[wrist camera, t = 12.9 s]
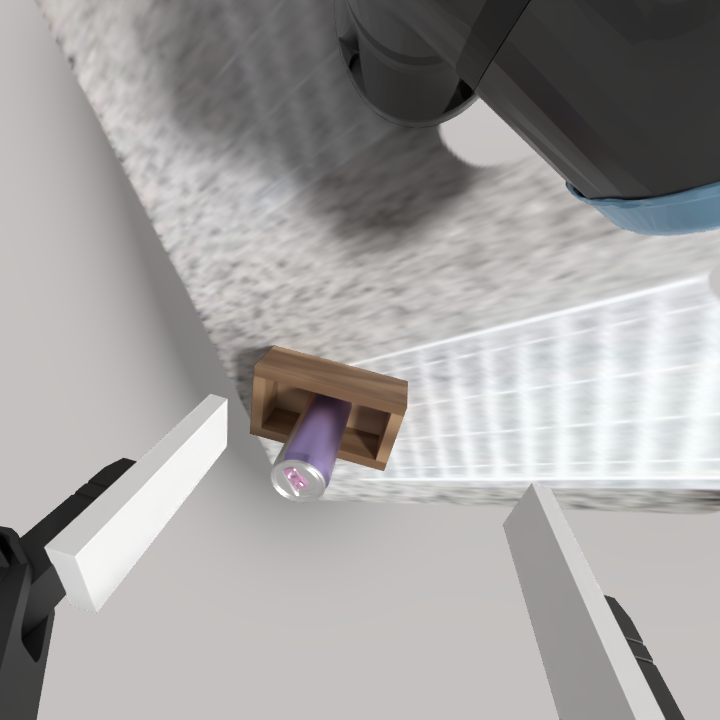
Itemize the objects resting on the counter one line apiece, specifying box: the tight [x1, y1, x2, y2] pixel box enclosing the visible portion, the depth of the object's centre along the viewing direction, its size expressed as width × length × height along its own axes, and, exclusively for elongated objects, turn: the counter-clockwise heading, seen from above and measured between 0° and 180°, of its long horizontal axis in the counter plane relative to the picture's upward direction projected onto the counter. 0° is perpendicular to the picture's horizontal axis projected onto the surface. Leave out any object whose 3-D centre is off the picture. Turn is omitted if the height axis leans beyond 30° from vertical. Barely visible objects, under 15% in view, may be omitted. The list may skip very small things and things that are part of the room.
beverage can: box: [271, 392, 352, 503], centre depth 37 cm, size 6×6×15 cm
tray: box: [250, 346, 408, 471], centre depth 42 cm, size 11×19×6 cm, turn 77°
